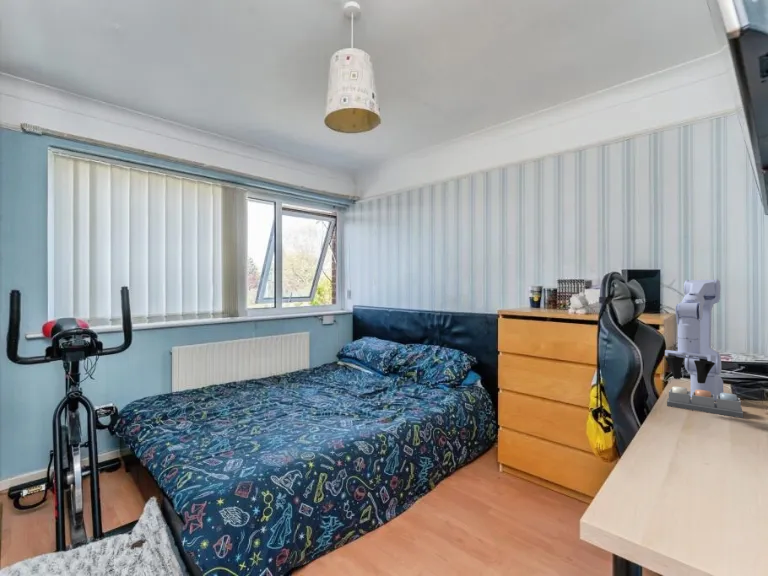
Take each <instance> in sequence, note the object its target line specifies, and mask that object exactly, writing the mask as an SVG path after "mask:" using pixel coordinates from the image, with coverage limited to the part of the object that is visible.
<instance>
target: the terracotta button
mask: <svg viewBox="0 0 768 576" xmlns="http://www.w3.org/2000/svg"><path fill="white" fill-rule="evenodd" d="M695 395H696V396H703V397H710V398H711V392H710V391H707V390H695Z"/></svg>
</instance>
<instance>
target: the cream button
mask: <svg viewBox="0 0 768 576" xmlns="http://www.w3.org/2000/svg"><path fill="white" fill-rule="evenodd" d="M671 389H672V392H674V393H681V394H687V391H688V388H686V387H683V386H672V387H671Z"/></svg>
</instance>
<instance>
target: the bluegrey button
mask: <svg viewBox="0 0 768 576" xmlns="http://www.w3.org/2000/svg"><path fill="white" fill-rule="evenodd" d="M737 398H738V395H737V394H735V393H728V392H723V393H720V399H724V400H732V401H737Z"/></svg>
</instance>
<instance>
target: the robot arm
mask: <svg viewBox="0 0 768 576" xmlns="http://www.w3.org/2000/svg"><path fill="white" fill-rule="evenodd" d="M683 292H684V296H683V298H682V299H681V301H680V302H679V303H676V305H675V319H676V325H677V350H669V349H665V350H664V356H665V357H664V359H665V360H666V362H667V364H668V366H669V367H670V370H671V373H672V378H673V379H674V380H681V377H682V367H683V362H684V368H685V370H686V371H687V372H688V373H689V374H690V395H691V399H692V393H693V392H695V390H707V391H710V392H711V394H712V395H714V402H717V395H720V393H724V380H723V379H722V377H721V376H719V375H721V373H722V366H723V365H722V356H721V355H720V353H719V352H718V351H716V350H715V349H713V348H712V313H713V312H712V311H713V308H714V305H716V304H718V303H719V302H720V300H721V282H720V280H719V279H718V278H715V279H685V281H684V283H683Z"/></svg>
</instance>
